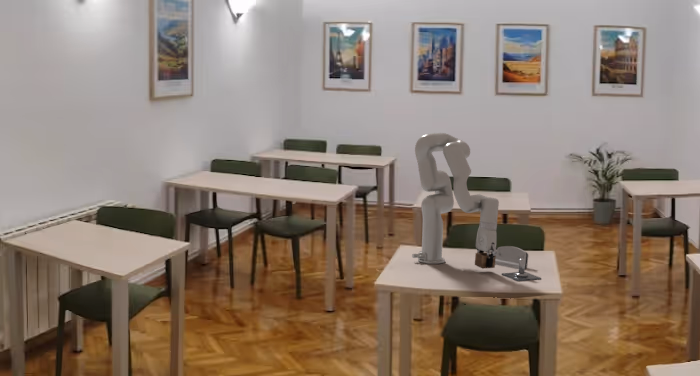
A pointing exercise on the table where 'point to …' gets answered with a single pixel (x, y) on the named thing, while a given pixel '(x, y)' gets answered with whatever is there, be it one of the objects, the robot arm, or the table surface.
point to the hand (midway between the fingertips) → (484, 264)
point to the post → (521, 273)
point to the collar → (483, 260)
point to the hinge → (510, 256)
